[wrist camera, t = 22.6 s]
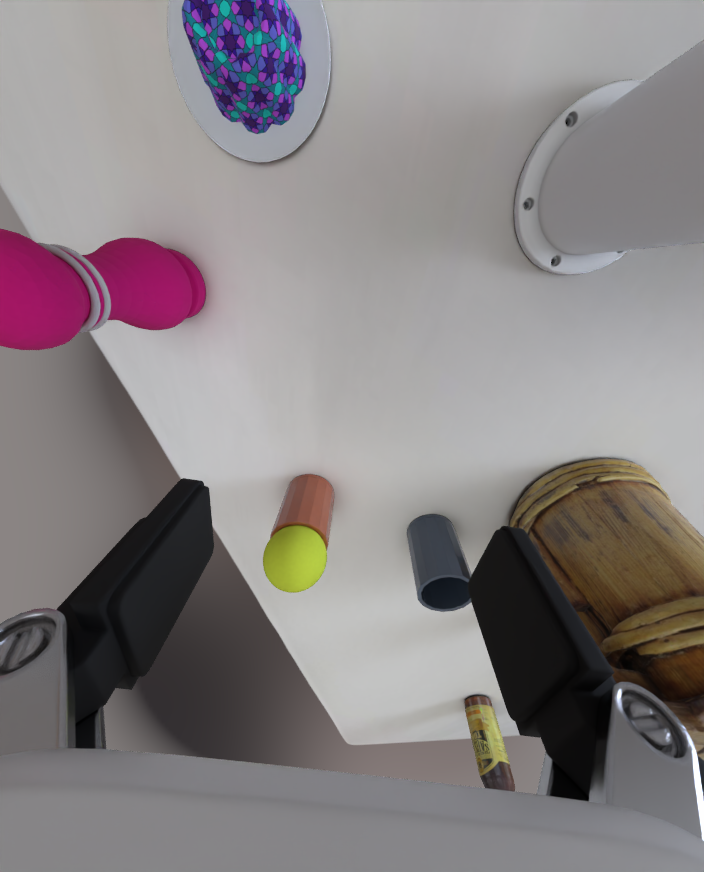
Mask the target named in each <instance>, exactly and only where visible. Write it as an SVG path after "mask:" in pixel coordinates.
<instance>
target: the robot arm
mask: <svg viewBox="0 0 704 872" xmlns="http://www.w3.org/2000/svg"><path fill="white" fill-rule="evenodd" d="M565 121H567V124H568V125H567V126H566V122H565ZM524 203H526V208H525V209H524V207H523V204H524ZM514 219H515V229H516V233H517V237H518V241H519V243H520V245H521V247H522V249H523V251H524V253H525V254H526V255H527V257H528V258H529V259H530V260H531V261H532V262H533V263H534V264H536V265H537V266H538V267H540V268H541V269H543V270H546V271H548V272H551V273H554V274H563V275H575V274H583V273H588V272H592V271H595V270H598V269H600V268H603V267H605V266H607V265H609V264H611V263H612V262H614V261H616V260H618V259H619V258H621V257H622V256H624V255H625V254H626V253H627V252H629V251H630V250H635V249H645V248H655V247H665V246H675V245H685V244H695V243H704V40H703V41H701V42H700V43H698V44H697V45H695V46H694V47H693V48H691V49H690V50H688V51H687V52H685V53H684V54H683V55H681V56H680V57H678V58H677V59H675V60H674V61H672V62H671V63H670V64H668V65H667V66H665V67H664V68H662V69H661V70H659V71H658V72H657V73H655V74H654V75H652V76H651V77H649V78H648V79H647V80H645V81H641V80H633V79H629V80H622V81H615V82H612V83H609V84H606V85H604V86H601V87H599V88H596V89H594V90H593V91H591V92H589V93H588V94H586V95H585V96H583V97H581V98H580V99H578V100H577V101H576V102H574V103H573V104H572V105H571V106H570V107H568V108H567V109H566V110H565V111H564V112H563V113H562V114H561V115H560V116H559V117H558V118H557V119H556V120H555V121H554V122H553V123H552V124H551V125H550V126H549V127H548V128H547V130H546V131H545V132H544V134H543V135H542V136H541V137H540V139H539V140H538V141H537V143H536V145H535V147H534V148H533V150H532V152H531V154H530V156H529V157H528V159H527V161H526V164H525V166H524V169H523V171H522V174H521V176H520V180H519V184H518V188H517V192H516V196H515V207H514ZM552 259H553V262H552V264H551V260H552ZM213 548H214V542H213V529H212V518H211V506H210V495H209V488H208V487H206V486H204V483H203V481H198V480H191V479H184V478H183V479H181V480H180V481H179V482H178V483H177V484H176V485H175V486H174V487H173V488H172V490H171V491H170V492H169V493H168V494H167V495H166V496H165V498H163V500H162V501H161V502H160V503H159V504H158V505H157V506H156V507H155V509H153V511H152V512H151V513H150V514H149V515H148V516H147V517H146V518H143V519H140V520H139V521H138V522H137V523H136V524H135V525H134V526H133V527H132V528H131V529H130V530H129V532H127V534H126V535H125V536H124V537H123V538H122V539H121V540H120V541H119V542H118V543H117V544H116V546H115V547H114V548H113V549H112V550H111V551H110V552H109V553H108V554H107V555H106V556H105V557H104V559H103V560H102V561H101V562H100V563H99V564H98V565H97V566H96V567H95V568H94V569H93V570H92V572H91V573H90V574H89V575H88V576H87V577H86V578H85V579H84V580H83V581H82V582H81V584H80V585H79V586H78V587H77V588H76V589H75V590H74V591H73V592H72V593H71V594H70V595H69V597H68V598H67V599H66V600H65V601H64V602H63V603H62V604H61V605H60V606H59V607H58V608H57V610H54V609H50V608H43V609H34V610H31V611H27V612H24V613H20V614H18V615H16V616H14V617H12V618H10V619H7V620H5V621H4V622H2V623H1V624H0V872H704V760H703V759H701V758H700V757H699V756H698V755H697V753H696V749H695V746H694V743H693V741H692V739H691V737H690V735H689V733H688V732H687V730H686V728H685V727H684V725H683V724H682V723H681V721H680V720H679V719H678V718H677V716H676V715H675V714H674V713H673V712H672V711H671V710H670V709H669V708H668V707H667V706H666V705H665V704H664V703H663V702H662V701H661V700H660V699H658V698H657V697H656V696H655V695H653V694H652V693H651V692H649V691H648V690H646V689H644V688H642V687H641V686H639V685H636V684H633V683H631V682H619V683H616V681H615V680H614V678H613V676H612V675H613V674H614V673H615V672H614V671H613V669H612V668H611V666H610V665H609V663H608V661H607V660H606V658H605V657H604V655H603V653H602V652H601V650H600V649H599V647H598V646H597V644H596V642H595V641H594V639H593V638H592V636H591V634H590V633H589V631H588V630H587V628H586V626H585V625H584V623H583V622H582V620H581V619H580V617H579V615H578V614H577V612H576V611H575V609H574V607H573V606H572V604H571V603H570V601H569V600H568V598H567V596H566V595H565V593H564V592H563V590H562V588H561V587H560V585H559V584H558V582H557V580H556V579H555V577H554V576H553V574H552V573H551V571H550V569H549V568H548V566H547V565H546V563H545V561H544V560H543V558H542V557H541V555H540V553H539V552H538V550H537V549H536V547H535V546H534V544H533V542H532V541H531V539H530V538H529V536H528V534H527V533H526V532H525V530H523V529H522V528H515V527H508V526H503V527H501V529H500V530H496V531H495V533H494V535H493V537H492V538H491V540H490V542H489V544H488V546H487V548H486V550H485V551H484V553H483V555H482V557H481V559H480V561H479V563H478V565H477V566H476V568H475V570H474V572H473V574H472V576H471V578H470V579H469V582H468V592H469V596H470V599H471V602H472V605H473V608H474V611H475V614H476V617H477V620H478V623H479V626H480V629H481V632H482V635H483V638H484V641H485V644H486V647H487V651H488V654H489V657H490V660H491V663H492V666H493V669H494V672H495V675H496V678H497V681H498V684H499V687H500V690H501V693H502V696H503V699H504V702H505V705H506V708H507V711H508V714H509V715H510V717H511V718H512V719H513V720H514V721H515V722H516V724H517V727H518V730H519V733H520V735H524V736H531V737H541V739H542V742H543V744H544V746H545V750H546V752H545V758H544V762H543V767H542V771H541V776H540V781H539V786H538V790H537V794H531V793H523V792H514V791H505V790H497V789H488V788H479V787H470V786H461V785H453V784H444V783H435V782H426V781H417V780H408V779H399V778H390V777H381V776H371V775H362V774H353V773H343V772H334V771H325V770H316V769H307V768H298V767H288V766H278V765H268V764H259V763H249V762H239V761H230V760H220V759H211V758H200V757H191V756H182V755H169V754H157V753H145V752H133V751H120V750H108V749H106V740H105V724H104V710H103V706H104V705H105V704H106V703H107V701H108V699H109V698H110V696H111V694H112V693H113V691H114V690H115V688H121V689H130V690H132V688H133V686H134V685H135V683H136V681H137V679H138V678H139V676H145V675H146V674H147V672H148V671H149V670H150V668H151V666H152V664H153V663H154V661H155V659H156V657H157V655H158V653H159V652H160V650H161V648H162V646H163V644H164V642H165V641H166V639H167V637H168V635H169V633H170V631H171V629H172V628H173V626H174V624H175V622H176V620H177V619H178V617H179V615H180V613H181V611H182V609H183V608H184V606H185V604H186V602H187V600H188V598H189V596H190V595H191V593H192V591H193V589H194V587H195V585H196V584H197V582H198V580H199V578H200V576H201V574H202V573H203V571H204V569H205V567H206V565H207V563H208V562H209V560H210V558H211V556H212V553H213Z"/></svg>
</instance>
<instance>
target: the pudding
mask: <svg viewBox="0 0 704 872" xmlns="http://www.w3.org/2000/svg"><path fill="white" fill-rule="evenodd" d="M167 33H168V43H169V52H170V57H171V62H172V66H173V71H174V74H175V77H176V80H177V83H178V86H179V89H180V92H181V94H182V96H183V98H184V100H185V103H186V105H187V107H188V109H189V110H190V112H191V114H192V115H193V117H194V118H195V120H196V122H197V123H198V124H199V126H200V127H201V128H202V129H203V131H204V132H205V133H206V134H207V135H208V137H209V138H211V139H212V140H213V141H214V142H215V143H216V144H217V145H218V146H219V147H221V148H222V149H224V150H225V151H227V152H228V153H230V154H231V155H234V156H236V157H238V158H241V159H243V160H247V161H253V162H270V161H274V160H277V159H281V158H283V157H285V156H286V155H288V154H290V153H292V152H293V151H294V150H296V149H297V148H298V147H299V146H300V145H301V144H302V143H303V142H304V141H305V140H306V138H307V137H308V136H309V134H310V133H311V132H312V130H313V128H314V127H315V125H316V123H317V121H318V119H319V117H320V114H321V112H322V109H323V106H324V103H325V100H326V95H327V90H328V85H329V79H330V66H331V54H330V38H329V31H328V25H327V19H326V15H325V12H324V8H323V5H322V1H321V0H169V3H168V16H167Z"/></svg>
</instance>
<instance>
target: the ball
mask: <svg viewBox="0 0 704 872" xmlns="http://www.w3.org/2000/svg"><path fill="white" fill-rule="evenodd" d="M326 561H327V551H326V547H325V544H324V541H323V540H322V538H321V537H320V535H319V534H318V533H317V532H316V531H314V530H313V529H311V528H309V527H307V526H302V525H291V526H287V527H285V528H283V529H281V530H279V531H278V532H277V533H275V534H274V535H273V536H272V538H271V539H270V540H269V542H268V543H267V546H266V548H265V551H264V555H263V566H264V571H265V574H266V576H267V578H268V579H269V581H270V582H271V583H272V584H273V585H274V586H275V587H276V588H278V589H280V590H282V591H285V592H301V591H304V590H306V589H308V588H310V587H311V586H313V585H314V584H315V583H316V582H317V581H318V580H319V578H320V577H321V575H322V574H323V572H324V569H325V566H326Z"/></svg>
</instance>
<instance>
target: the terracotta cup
mask: <svg viewBox="0 0 704 872" xmlns="http://www.w3.org/2000/svg"><path fill="white" fill-rule="evenodd" d="M333 503H334V490H333V488H332V486H331V484H330V483H329V482H328V481H327V480H325V479H324V478H322V477H320V476H317V475H312V474H305V475H301V476H298V477H296V478H295V479H293V480H292V481H291V482H290V484H289V486H288V488H287V490H286V493H285V496H284V499H283V501H282V504H281V507H280V510H279V513H278V515H277V518H276V521H275V524H274V527H273V529H272V532H271V537H270V539H271V538H272V536H273V535H274V534H275V533H277V532H278V531H279V530H281V529H283V528H285V527H287V526H291V525H302V526H307V527H309V528H311V529H313V530H314V531H316V532H317V533H318V534H319V535H320V537H321V538H322V540H323V541H324V544H325V547H326V551H327V547H328V542H329V534H330V526H331V518H332V510H333Z"/></svg>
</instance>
